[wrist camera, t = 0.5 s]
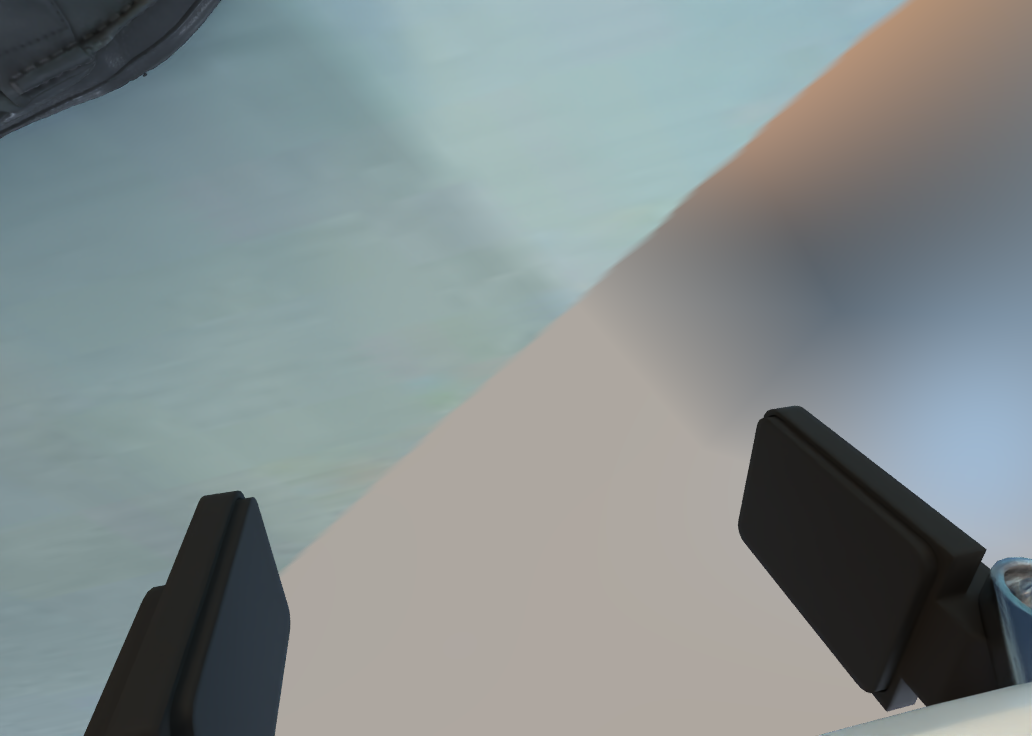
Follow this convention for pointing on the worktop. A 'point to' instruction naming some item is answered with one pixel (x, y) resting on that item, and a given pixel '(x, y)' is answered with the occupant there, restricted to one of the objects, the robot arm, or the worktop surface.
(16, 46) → the loafer
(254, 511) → the robot arm
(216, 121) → the worktop surface
